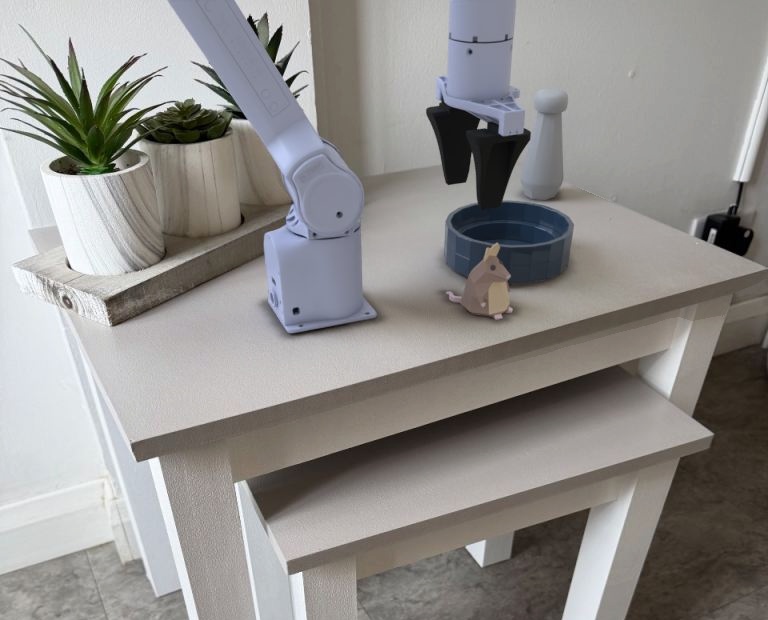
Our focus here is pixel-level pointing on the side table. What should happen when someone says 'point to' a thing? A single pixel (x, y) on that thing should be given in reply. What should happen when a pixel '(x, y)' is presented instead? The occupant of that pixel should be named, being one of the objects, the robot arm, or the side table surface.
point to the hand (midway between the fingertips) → (472, 194)
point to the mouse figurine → (487, 287)
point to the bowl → (510, 239)
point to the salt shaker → (545, 146)
